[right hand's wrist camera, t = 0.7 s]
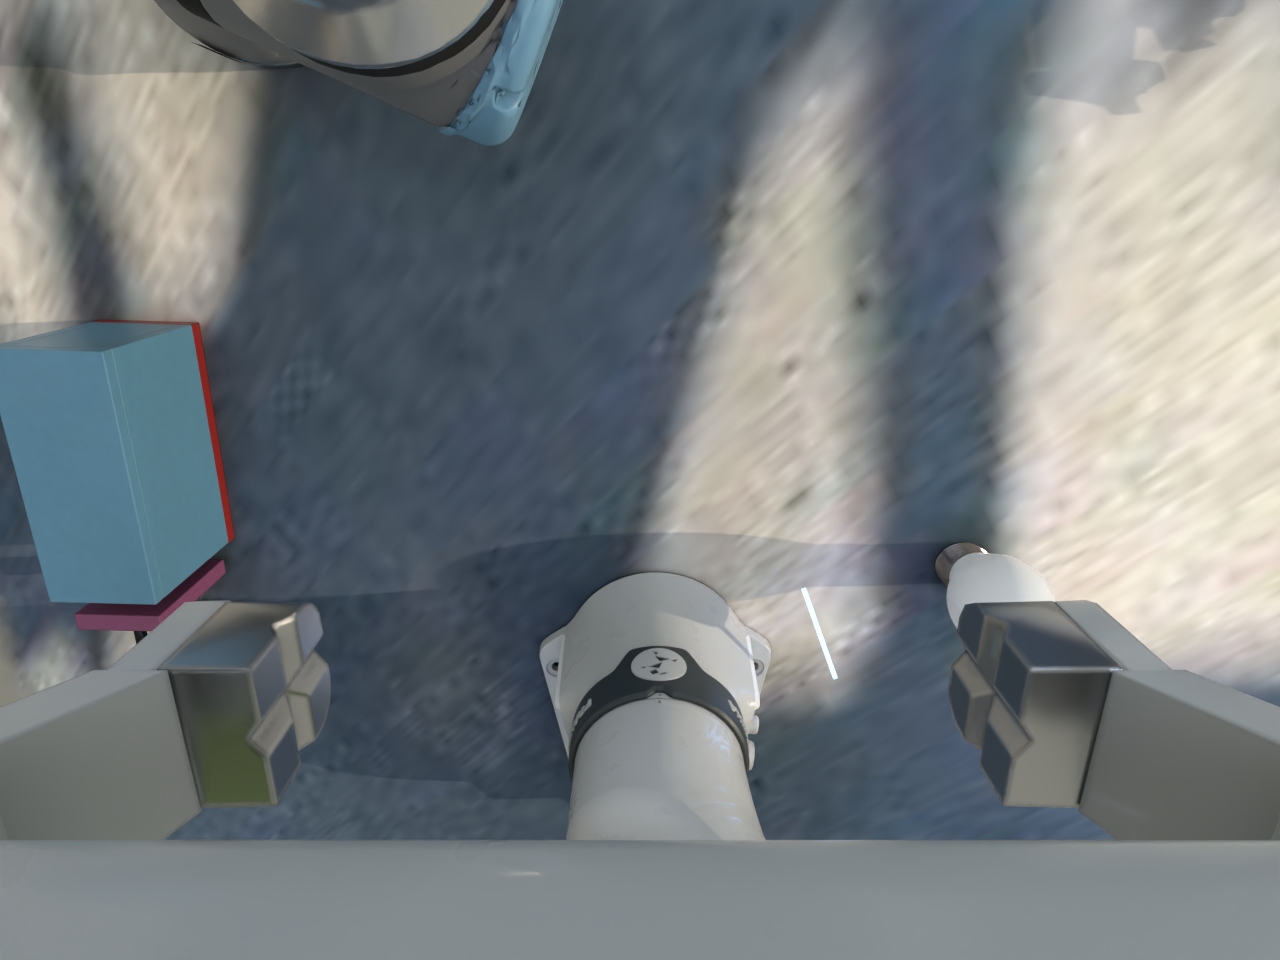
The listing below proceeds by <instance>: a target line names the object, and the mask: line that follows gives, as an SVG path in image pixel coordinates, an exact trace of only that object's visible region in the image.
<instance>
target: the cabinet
mask: <svg viewBox="0 0 1280 960" xmlns="http://www.w3.org/2000/svg"><path fill="white" fill-rule="evenodd" d="M0 415H1V419H2V423H3V427H4V430H5V434H6V438H7V442H8V445H9V449H10V453H11V457H12V460H13V464H14V468H15V472H16V475H17V479H18V483H19V487H20V490H21V494H22V498H23V502H24V505H25V509H26V513H27V517H28V520H29V524H30V528H31V532H32V535H33V539H34V543H35V547H36V550H37V554H38V558H39V562H40V565H41V569H42V573H43V577H44V580H45V584H46V588H47V592H48V595H49V599H50V602H72V603H111V604H151V605H156V604H157V603H159V602H160V601H161V600H162V599H163V598H164V597H166V596H167V595H168V594H169V593H170V592H171V591H173V590H174V589H175V588H176V587H177V586H178V585H180V584H181V583H182V582H183V581H184V580H185V579H186V578H188V577H189V576H190V575H191V574H192V573H193V572H195V571H196V570H197V569H198V568H199V567H200V566H202V565H203V564H204V563H205V562H206V561H207V560H209V559H210V558H211V557H212V556H213V555H214V554H216V553H217V552H218V551H219V550H220V549H221V548H223V547H224V546H225V545H226V544H227V543H229V542H230V541H232V540H233V539H234V538H235V536H234V530H233V524H232V518H231V512H230V506H229V500H228V494H227V488H226V482H225V476H224V470H223V464H222V458H221V452H220V446H219V440H218V435H217V429H216V423H215V417H214V411H213V405H212V399H211V393H210V387H209V381H208V375H207V369H206V363H205V357H204V351H203V345H202V339H201V333H200V327H199V323H196V322H162V321H128V320H97V321H92V322H90V323H86V324H82V325H78V326H74V327H69V328H65V329H61V330H57V331H53V332H49V333H45V334H40V335H36V336H32V337H28V338H24V339H20V340H16V341H11V342H7V343H3V344H0Z"/></svg>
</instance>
